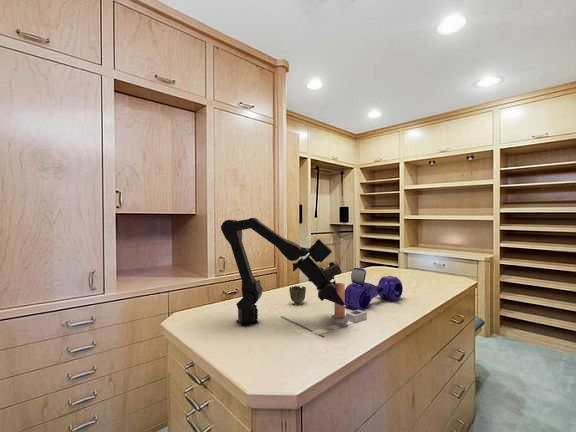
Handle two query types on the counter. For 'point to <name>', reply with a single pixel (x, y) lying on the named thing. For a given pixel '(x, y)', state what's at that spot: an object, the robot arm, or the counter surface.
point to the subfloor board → (323, 330)
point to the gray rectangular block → (356, 316)
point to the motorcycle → (370, 290)
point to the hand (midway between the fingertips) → (343, 303)
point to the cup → (297, 294)
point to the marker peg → (339, 306)
